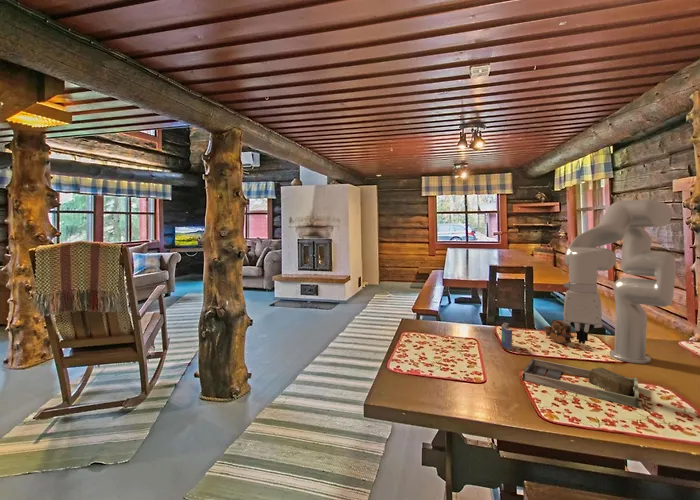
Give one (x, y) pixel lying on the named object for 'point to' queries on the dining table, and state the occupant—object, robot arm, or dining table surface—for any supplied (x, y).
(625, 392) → the stone block
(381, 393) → the dining table surface
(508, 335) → the flask
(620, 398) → the box
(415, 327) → the dining table surface
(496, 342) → the dining table surface
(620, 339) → the robot arm
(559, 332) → the wooden carving
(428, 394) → the dining table surface
